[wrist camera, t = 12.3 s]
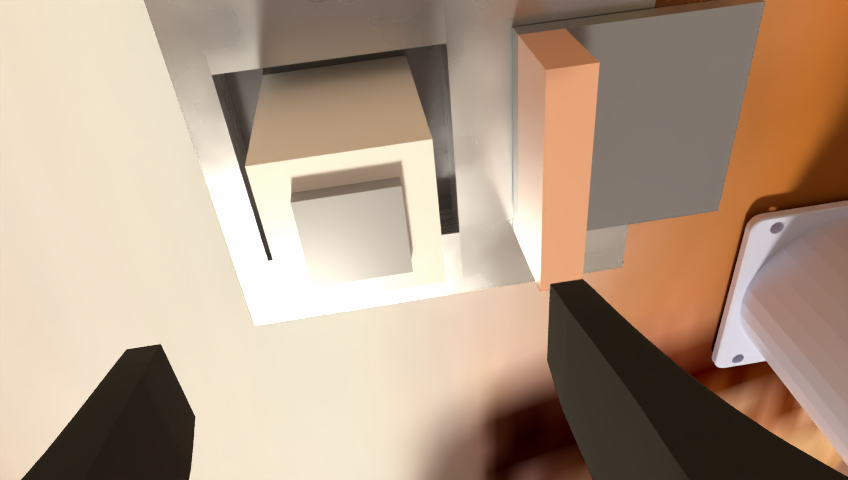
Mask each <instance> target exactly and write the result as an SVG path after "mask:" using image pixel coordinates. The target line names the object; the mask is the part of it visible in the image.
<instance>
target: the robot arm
mask: <svg viewBox="0 0 848 480" xmlns="http://www.w3.org/2000/svg"><path fill="white" fill-rule="evenodd" d="M775 223H776V224H775ZM774 224H775V225H774ZM772 225H774V226H773V227H772ZM712 360H713V362H714V363H715V365H716V366H717V367H720V368H726V367H732V366H738V365H744V364H750V363H756V362H762V361H767V362H768V364H769V365H770V366H771V367H772V369H773V370H774V371H775V373H776V374H777V375H778V376H779V378H780V379H781V380H782V382H783V383H784V384H785V386H786V387H787V388H788V389H789V391H790V392H791V393H792V395H793V396H794V397H795V398H796V400H797V401H798V402H799V404H800V405H801V406H802V407H803V409H804V410H805V411H806V413H807V414H808V415H809V416H810V418H811V419H812V420H813V422H814V423H815V424H816V425H817V427H818V428H819V429H820V431H821V432H822V433H823V434H824V436H825V437H826V438H827V440H828V441H829V442H830V443H831V445H832V446H833V447H834V449H835V450H836V451H837V453H838V454H839V455H840V456H841V458H842V459H843V460H844V462H845V463H846V464H847V465H848V200H847V201H840V202H834V203H827V204H821V205H814V206H808V207H801V208H795V209H788V210H782V211H775V212H769V213H762V214H759V215H756V216H754V217H753V218H751V220H750V221H749V222H748V223H747V226H746V228H745V232H744V236H743V240H742V244H741V248H740V251H739V255H738V259H737V263H736V267H735V270H734V274H733V278H732V282H731V286H730V290H729V293H728V297H727V301H726V305H725V309H724V312H723V316H722V320H721V324H720V328H719V332H718V335H717V339H716V343H715V347H714V351H713V354H712ZM547 361H548V364H549V368H550V371H551V374H552V378H553V381H554V385H555V388H556V391H557V394H558V397H559V401H560V404H561V407H562V410H563V412H564V414H565V417H566V419H567V421H568V424H569V426H570V428H571V431H572V433H573V435H574V437H575V440H576V442H577V444H578V447H579V449H580V451H581V453H582V456H583V458H584V460H585V462H586V465H587V467H588V469H589V471H590V474H591V476H592V478H593V480H848V477H847V476H845V475H843V474H842V473H840V472H838V471H836V470H834V469H833V468H831V467H829V466H827V465H826V464H824V463H822V462H820V461H819V460H817V459H815V458H814V457H812V456H810V455H808V454H807V453H805V452H803V451H801V450H800V449H798V448H796V447H794V446H793V445H791V444H789V443H788V442H786V441H784V440H783V439H781V438H779V437H778V436H776V435H775V434H773V433H771V432H770V431H768V430H767V429H765V428H764V427H762V426H761V425H759V424H758V423H756V422H755V421H753V420H752V419H750V418H749V417H747V416H746V415H744V414H743V413H741V412H740V411H738V410H737V409H735V408H734V407H732V406H731V405H730V404H728V403H727V402H725V401H724V400H723V399H721V398H720V397H719V396H717V395H716V394H715V393H713V392H712V391H710V390H709V389H708V388H707V387H705V386H704V385H703V384H701V383H700V382H699V381H698V380H696V379H695V378H694V377H692V376H691V375H690V374H688V373H687V372H686V371H685V370H684V369H682V368H681V367H680V366H679V365H677V364H676V363H675V362H674V361H672V360H671V359H670V358H669V357H668V356H667V355H665V354H664V353H663V352H662V351H661V350H660V349H658V348H657V347H656V346H655V345H654V344H653V343H651V342H650V341H649V340H648V339H647V338H646V337H644V336H643V335H642V334H641V333H640V332H639V331H638V330H637V329H636V328H634V327H633V326H632V325H631V324H630V323H629V322H628V321H627V320H626V319H625V318H624V317H622V316H621V315H620V314H619V313H618V312H617V311H616V310H615V309H614V308H613V307H612V306H611V305H610V304H609V303H608V302H607V301H605V300H604V299H603V298H602V297H601V296H600V295H599V294H598V293H597V292H596V291H595V290H594V289H593V288H592V287H591V286H590V285H589V284H588V283H587V282H585V281H584V280H583V279H578V280H572V281H565V282H559V283H553V284H550V301H549V327H548V353H547ZM194 426H195V415H194V413H193V411H192V409H191V407H190V405H189V403H188V401H187V399H186V396H185V394H184V392H183V390H182V388H181V386H180V384H179V382H178V380H177V377H176V375H175V373H174V371H173V369H172V367H171V365H170V363H169V361H168V359H167V356H166V354H165V352H164V350H163V348H162V346H161V344H159V345H152V346H146V347H139V348H133V349H127V350H126V351H125V352H124V353H123V355H122V356H121V357H120V358H119V360H118V361H117V362H116V363H115V365H114V366H113V367H112V369H111V370H110V371H109V372H108V374H107V375H106V376H105V377H104V379H103V380H102V381H101V383H100V384H99V385H98V386H97V388H96V389H95V390H94V392H93V393H92V394H91V395H90V397H89V398H88V399H87V401H86V402H85V403H84V404H83V406H82V407H81V408H80V410H79V411H78V412H77V413H76V415H75V416H74V417H73V418H72V420H71V421H70V422H69V423H68V425H67V426H66V427H65V428H64V430H63V431H62V432H61V433H60V435H59V436H58V437H57V438H56V439H55V441H54V442H53V443H52V444H51V446H50V447H49V448H48V449H47V451H46V452H45V453H44V454H43V455H42V456H41V458H40V459H39V460H38V461H37V462H36V463H35V465H34V466H33V467H32V468H31V469H30V470H29V471H28V473H27V474H26V475H25V476H24V477H23V478H22V479H21V480H189V476H190V471H191V462H192V452H193V440H194Z"/></svg>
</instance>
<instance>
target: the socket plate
mask: <svg viewBox="0 0 848 480" xmlns="http://www.w3.org/2000/svg"><path fill="white" fill-rule="evenodd" d="M144 2H145V5H146V8H147V11H148V14H149V16H150V19H151V22H152V25H153V28H154V31H155V34H156V37H157V40H158V43H159V46H160V49H161V52H162V54H163V57H164V60H165V63H166V66H167V69H168V72H169V75H170V78H171V81H172V84H173V87H174V89H175V92H176V95H177V98H178V101H179V104H180V107H181V110H182V113H183V116H184V119H185V122H186V125H187V127H188V130H189V133H190V136H191V139H192V142H193V145H194V148H195V151H196V154H197V157H198V160H199V163H200V165H201V168H202V171H203V174H204V177H205V180H206V183H207V186H208V189H209V192H210V195H211V198H212V201H213V203H214V206H215V209H216V212H217V215H218V218H219V221H220V224H221V227H222V230H223V233H224V236H225V239H226V241H227V244H228V247H229V250H230V253H231V256H232V259H233V262H234V265H235V268H236V271H237V274H238V277H239V279H240V282H241V285H242V288H243V291H244V294H245V297H246V300H247V303H248V306H249V309H250V312H251V314H252V317H253V320H254V323H255V325H260V324H266V323H272V322H279V321H285V320H291V319H298V318H304V317H310V316H317V315H323V314H330V313H336V312H342V311H349V310H355V309H361V308H368V307H374V306H381V305H387V304H393V303H400V302H406V301H412V300H419V299H425V298H431V297H438V296H444V295H451V294H457V293H463V292H470V291H476V290H482V289H489V288H495V287H502V286H508V285H514V284H521V283H527V282H533V281H535V279H534V277H533V274H532V272H531V270H530V267H529V265H528V263H527V260H526V258H525V256H524V254H523V251H522V249H521V247H520V244H519V242H518V240H517V237H516V235H515V233H514V231H513V82H512V27H519V26H526V25H534V24H541V23H549V22H556V21H564V20H571V19H578V18H586V17H593V16H601V15H608V14H616V13H623V12H631V11H638V10H646V9H653V8H655V3H656V0H144ZM405 55H406V58H407V61H408V64H409V67H410V70H411V74H412V77H413V80H414V83H415V86H416V89H417V92H418V95H419V99H420V102H421V105H422V108H423V111H424V114H425V117H426V121H427V124H428V127H429V130H430V133H431V136H432V140H433V151H434V162H435V172H436V183H437V193H438V204H439V215H440V225H441V236H442V247H443V257H444V268H445V278H446V282H440V283H434V284H428V285H422V286H415V287H409V288H403V289H396V290H390V291H384V292H377V293H371V294H365V295H359V296H352V297H346V298H340V299H333V300H327V301H321V302H314V303H308V304H302V305H295V306H289V307H287V306H286V302H285V299H284V296H283V292H282V289H281V286H280V282H279V279H278V276H277V272H276V269H275V266H274V262H273V259H272V256H271V252H270V249H269V246H268V242H267V239H266V236H265V232H264V229H263V226H262V222H261V219H260V216H259V212H258V209H257V205H256V202H255V199H254V195H253V192H252V189H251V185H250V182H249V179H248V175H247V172H246V169H245V163H246V158H247V153H248V148H249V143H250V138H251V133H252V128H253V122H254V117H255V112H256V107H257V102H258V97H259V92H260V87H261V82H262V77H263V75H268V74H275V73H282V72H290V71H297V70H304V69H311V68H318V67H326V66H333V65H340V64H347V63H354V62H362V61H369V60H376V59H383V58H390V57H398V56H405ZM627 226H628V225H622V226H615V227H609V228H602V229H596V230H589V231H586V243H585V255H584V268H583V274H584V273H591V272H597V271H603V270H610V269H616V268H622V266H623V258H624V250H625V242H626V234H627Z"/></svg>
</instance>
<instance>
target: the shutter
mask: <svg viewBox="0 0 848 480" xmlns="http://www.w3.org/2000/svg"><path fill="white" fill-rule="evenodd" d="M764 5H765V1H763V0H713V1H705V2H698V3H690V4H683V5H675V6H668V7H661V8H653V9H646V10H638V11H631V12H623V13H616V14H608V15H601V16H593V17H586V18H578V19H571V20H564V21H556V22H549V23H541V24H534V25H526V26H519V27H512V82H513V231H514V233H515V235H516V237H517V240H518V242H519V244H520V247H521V249H522V251H523V254H524V256H525V258H526V260H527V263H528V265H529V267H530V270H531V272H532V274H533V277H534V279H535V281H536V283H537V286H538V288H539V290H540V292H541V291H547V290H550V284H553V283H559V282H565V281H572V280H578V279H583V268H584V255H585V243H586V231H589V230H596V229H602V228H609V227H615V226H622V225H628V224H635V223H641V222H648V221H654V220H661V219H667V218H674V217H680V216H687V215H693V214H700V213H706V212H713V211H718V209H719V204H720V200H721V195H722V191H723V186H724V182H725V178H726V173H727V169H728V164H729V160H730V155H731V151H732V147H733V142H734V138H735V133H736V129H737V124H738V120H739V116H740V111H741V107H742V102H743V98H744V93H745V89H746V85H747V80H748V76H749V71H750V67H751V62H752V58H753V54H754V49H755V45H756V40H757V36H758V31H759V27H760V22H761V18H762V14H763V9H764Z"/></svg>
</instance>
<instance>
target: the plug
mask: <svg viewBox="0 0 848 480" xmlns="http://www.w3.org/2000/svg"><path fill="white" fill-rule="evenodd" d="M245 169H246V172H247V175H248V179H249V182H250V185H251V189H252V192H253V195H254V199H255V202H256V205H257V209H258V212H259V216H260V219H261V222H262V226H263V229H264V232H265V236H266V239H267V242H268V246H269V249H270V252H271V256H272V259H273V262H274V266H275V269H276V272H277V276H278V279H279V282H280V286H281V289H282V292H283V296H284V299H285V302H286V306H287V307H289V306H295V305H302V304H308V303H314V302H321V301H327V300H333V299H340V298H346V297H352V296H359V295H365V294H371V293H377V292H384V291H390V290H396V289H403V288H409V287H415V286H422V285H428V284H434V283H440V282H446V278H445V268H444V257H443V247H442V236H441V225H440V215H439V204H438V193H437V183H436V172H435V162H434V151H433V140H432V136H431V133H430V130H429V127H428V124H427V121H426V117H425V114H424V111H423V108H422V105H421V102H420V99H419V95H418V92H417V89H416V86H415V83H414V80H413V77H412V74H411V70H410V67H409V64H408V61H407V58H406V55H405V56H398V57H390V58H383V59H376V60H369V61H362V62H354V63H347V64H340V65H333V66H326V67H318V68H311V69H304V70H297V71H290V72H282V73H275V74H268V75H263V77H262V82H261V87H260V92H259V97H258V102H257V107H256V112H255V117H254V122H253V128H252V133H251V138H250V143H249V148H248V153H247V158H246V163H245Z"/></svg>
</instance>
